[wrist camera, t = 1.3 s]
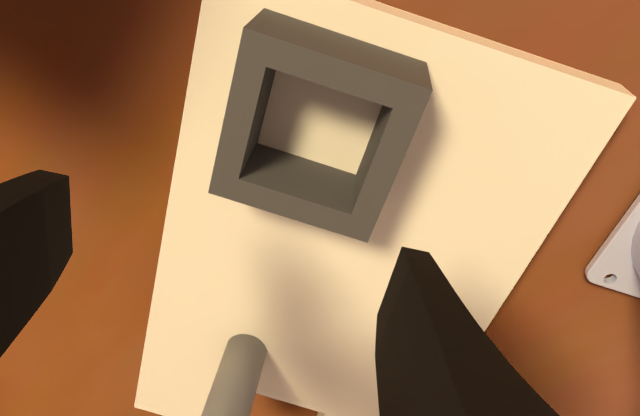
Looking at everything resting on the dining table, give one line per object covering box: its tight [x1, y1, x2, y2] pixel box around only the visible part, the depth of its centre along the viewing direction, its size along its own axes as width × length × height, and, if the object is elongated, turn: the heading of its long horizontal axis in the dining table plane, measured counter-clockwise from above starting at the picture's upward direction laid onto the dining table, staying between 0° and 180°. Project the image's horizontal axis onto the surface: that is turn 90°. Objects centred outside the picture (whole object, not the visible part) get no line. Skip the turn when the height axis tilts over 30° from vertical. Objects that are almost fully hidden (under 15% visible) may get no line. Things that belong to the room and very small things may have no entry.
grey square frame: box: [208, 8, 433, 243], centre depth 18 cm, size 6×6×3 cm
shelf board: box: [134, 0, 637, 416], centre depth 22 cm, size 15×24×6 cm, turn 163°
